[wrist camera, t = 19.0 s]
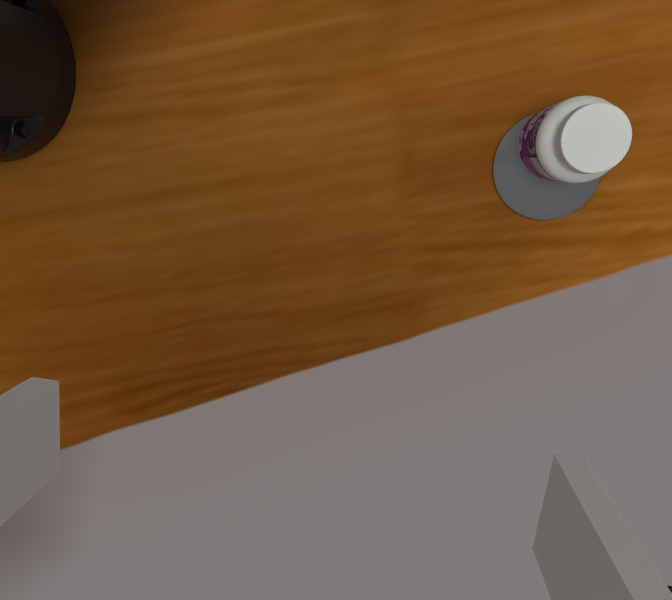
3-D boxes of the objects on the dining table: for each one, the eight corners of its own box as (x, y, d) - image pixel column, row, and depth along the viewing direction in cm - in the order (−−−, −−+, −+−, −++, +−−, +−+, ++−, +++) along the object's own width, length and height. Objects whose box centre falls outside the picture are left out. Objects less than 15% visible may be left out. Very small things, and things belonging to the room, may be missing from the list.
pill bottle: (544, 91, 40) (589, 69, 31) (604, 130, 41) (666, 120, 31) (500, 156, 42) (530, 153, 32) (558, 194, 42) (605, 202, 33)
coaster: (484, 212, 43) (485, 213, 43) (502, 105, 41) (503, 105, 41) (588, 225, 43) (590, 225, 42) (612, 117, 41) (614, 116, 40)
